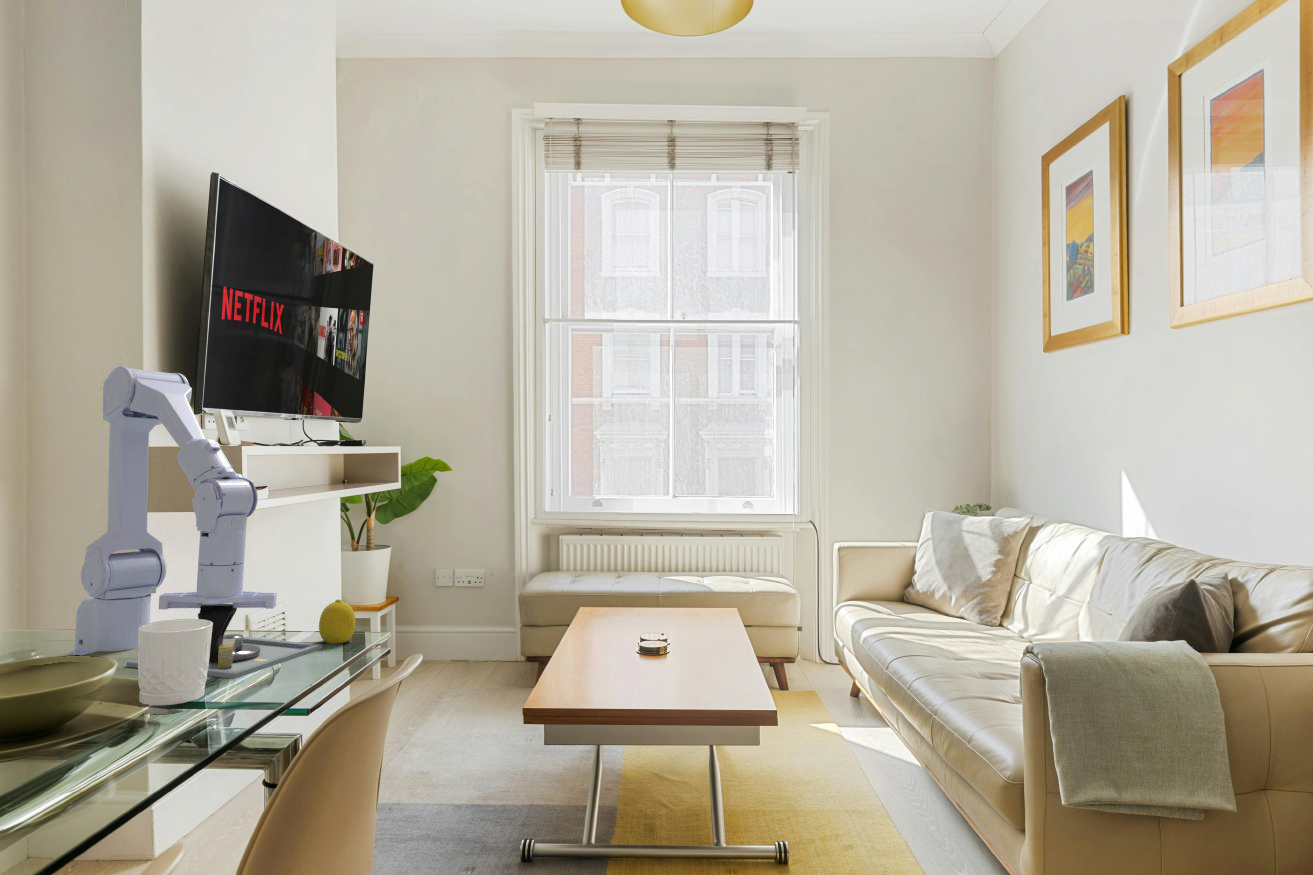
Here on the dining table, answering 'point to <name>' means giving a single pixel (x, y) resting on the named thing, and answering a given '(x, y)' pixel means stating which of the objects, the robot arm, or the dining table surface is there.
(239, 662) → the dial plate
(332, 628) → the lemon
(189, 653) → the white cup
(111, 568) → the robot arm
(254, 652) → the dial
